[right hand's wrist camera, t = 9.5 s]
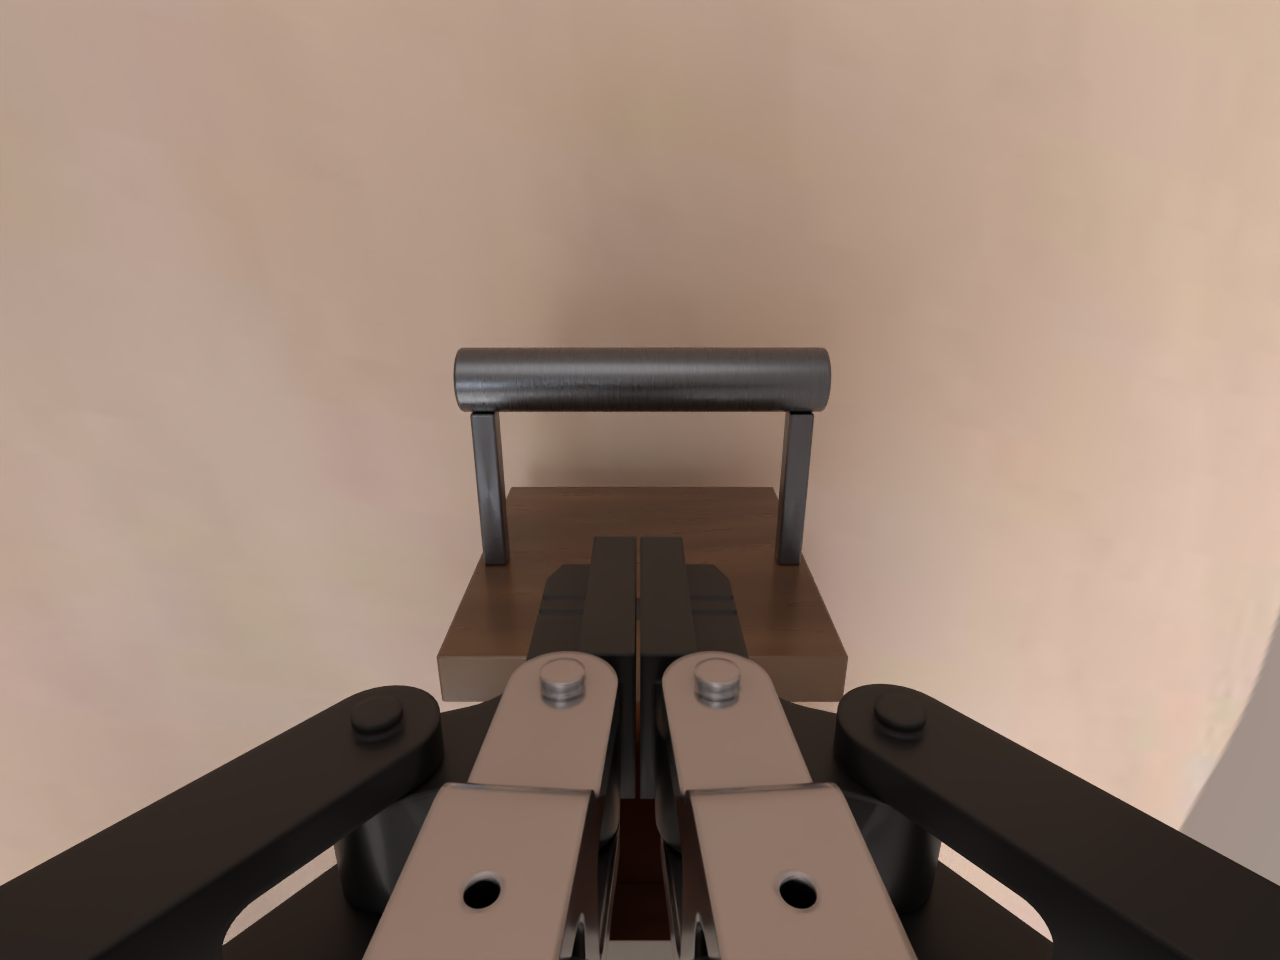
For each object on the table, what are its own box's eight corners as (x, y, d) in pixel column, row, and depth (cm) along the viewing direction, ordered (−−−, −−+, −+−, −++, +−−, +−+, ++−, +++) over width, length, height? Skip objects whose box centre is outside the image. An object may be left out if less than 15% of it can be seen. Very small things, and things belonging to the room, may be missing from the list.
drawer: (497, 313, 22) (401, 396, 13) (786, 313, 22) (883, 396, 13) (539, 872, 30) (498, 1143, 22) (744, 872, 30) (785, 1144, 22)
